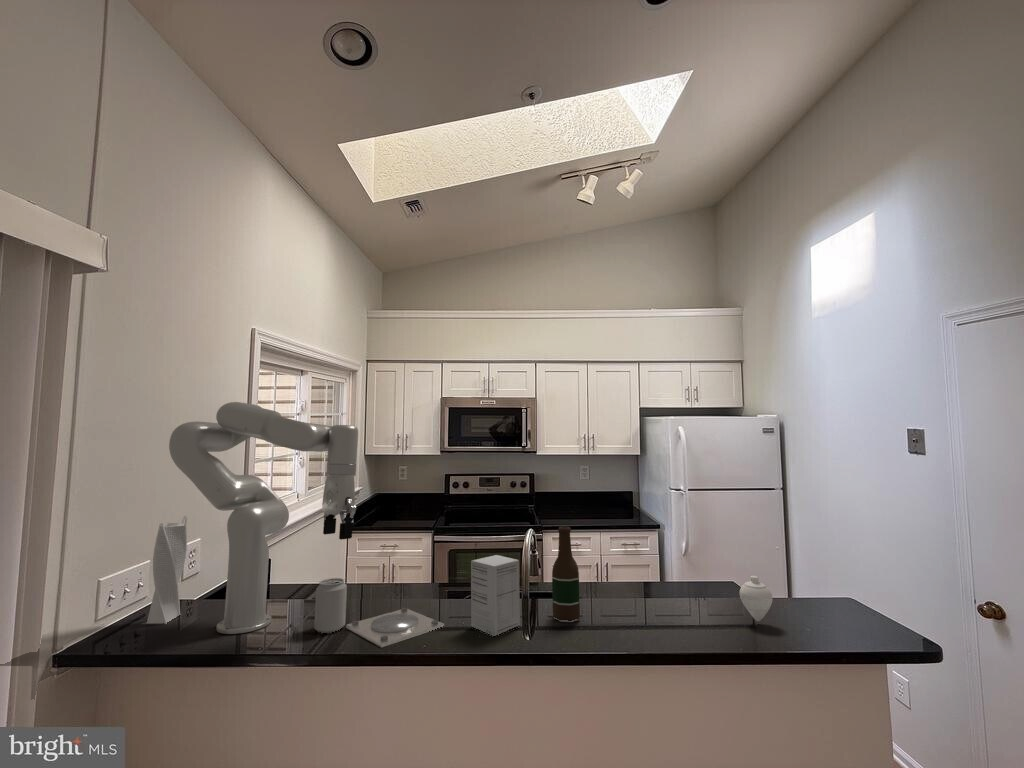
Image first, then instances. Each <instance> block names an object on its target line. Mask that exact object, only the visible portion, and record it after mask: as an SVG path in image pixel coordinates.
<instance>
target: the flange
mask: <svg viewBox="0 0 1024 768" xmlns="http://www.w3.org/2000/svg"><path fill="white" fill-rule="evenodd" d="M443 626H444V627H445V623H443V622H441V621H439V620H436V619H433V618H431V617H430V616H429V617H428V616H425V615H424V614H421V613H419V612H416V611H413V610H412V609H409V608H407V607H401V608H400V609H398V610H394V611H391V612H386V613H383V614H380V615H377V616H372V617H368V618H366V619H361V620H354V621H352V622H351V623H348V624H345V628H346V629H347V630H349V631H350V632H352V633H354V634H357V636H360V637H362V638H363V639H365V640H367V641H369V642H371V643H372V644H374V645H376V646H377V647H380V648H385V647H387V646H391V645H393V644H397V643H400V642H402V641H406V640H409V639H411V638H415V637H418V636H421V635H423V634H427V633H430V632H432V630H433V631H436V630H438V629H437V628H439V629H441V628H440V627H442V628H444V627H443ZM435 629H436V630H435ZM429 631H430V632H429Z"/></svg>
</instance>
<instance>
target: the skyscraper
mask: <svg viewBox="0 0 1024 768" xmlns="http://www.w3.org/2000/svg"><path fill="white" fill-rule="evenodd" d="M187 523H188V517H187V516H186V515H185V516H183V517H182V519H181V522H180V521H169V522H167V523H166V524H164V523H162V522H161V523H159V525H158V531H157V533H156V534H157V535H156V538H155V542H154V543H155V545H154V548H153V549H154V550H153V556H152V576H153V583H154V592H153V594H152V595H153V596H152V599H151V604H150V607H149V613H148V616H147V620H146V621H147V622H146V621H144V622H145V623H143V622H141V623H142V624H141V625H168V624H167V622H169V621H171V620H172V619H174V618H176V617H177V616H179V615H181V606H180V605H181V603H180V591H179V583H180V579H181V576H182V573H183V569H184V566H185V563H186V559H187V558H186V557H187V549H188V535H187V534H188V531H187V525H188V524H187ZM163 623H164V624H163Z"/></svg>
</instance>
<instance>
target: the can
mask: <svg viewBox="0 0 1024 768" xmlns="http://www.w3.org/2000/svg"><path fill="white" fill-rule="evenodd" d="M345 581H346V580H345V579H344V578H339V577H333V578H327V579H325V578H324V579H323V580H320V581H319V582H318V586H317V587H316V588H315V606H314V607H315V608H314V622H313V624H314V625H313V626H314V627H313V628H314V630H316V631H317V633H319V632H321V633H320V634H323V633H327V634H333V633H332V632H334V633H336V632H335V631H337V632H339V631H341V630H342V629H343V627H344V626H346V620H347V619H346V616H347V612H346V611H347V594H348V593H347V591H348V590H347V589H348V585H347V584H346V583H345ZM341 628H342V629H341ZM340 629H341V630H340ZM338 630H339V631H338Z"/></svg>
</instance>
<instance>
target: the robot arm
mask: <svg viewBox="0 0 1024 768" xmlns="http://www.w3.org/2000/svg"><path fill="white" fill-rule="evenodd" d="M215 415H216V418H215V419H216V421H217V422H210V421H189V422H188V421H187V422H185V423H181V424H179V425H177V427H176V428H175V429H173V431H172V433H171V434H170V437H169V443H168V449H169V450H168V451H169V454H170V457H171V459H172V461H173V463H174V464H175V466H176V467H177V468H178V469H179V470H180V471H181V472H182V473H183V474H184V475H185V476H186V477H187V478H188V479H189V480H190V482H192V484H193V485H194V486H195V487H196V488H197V489H198V491H200V493H201V494H202V495H203V496H204V497H205V498H206V500H208V502H209V503H210V504H211V505H212V506H213V507H214V508H215V509H216V510H219V511H223V512H224V511H225V512H226V511H232V512H231V513H230V515H229V517H228V519H227V523H226V524H227V525H226V527H227V528H226V529H227V537H228V561H227V562H228V564H227V579H226V592H225V604H224V616H223V617H224V618H223V620H222V621H219V622H218V623H217V624H216V629H215V630H216V632H217V633H220V634H223V635H238V634H245V633H250V632H254V631H259V630H260V629H264V628H265V627H267V626H268V625H270V624H271V622H272V615H270V614H268V613H266V607H267V606H266V605H267V591H268V575H269V558H270V549H269V545H268V541H267V538H266V537H267V536H268V535H272V534H275V533H278V532H279V531H281V530H283V529H284V528H285V527H286V526H287V524H288V522H289V518H290V512H289V508H288V506H287V504H286V503H285V502H284V501H283V500H282V499H281V498H280V497H279V496H278V494H277V493H276V492H274V490H273V489H272V488H271V487H270V486H269V485H268V484H267V483H266V482H265V481H264V480H263V479H261V478H260V477H258V476H256V475H253V474H235V473H234V472H232V471H231V470H230V469H229V468H228V467H227V466H226V465H225V463H223V461H221V459H218V458H217V457H216V456H214V455H212V454H211V453H219V452H225V451H228V450H231V449H232V448H235V447H236V446H238V445H240V444H241V443H243V442H245V441H246V440H248V439H250V438H254V439H258V440H262V441H266V442H267V443H270V444H272V445H275V446H277V447H278V446H279V447H282V448H286V449H290V450H293V451H298V452H315V453H317V452H318V453H320V452H321V453H322V452H327V460H326V475H325V476H326V478H325V483H324V487H323V495H322V503H321V504H322V505H321V511H322V512H323V513H324V514H323V527H322V528H323V530H322V531H323V532H322V533H323V535H332V534H333V535H334V534H335V533H336V530H337V528H336V527H337V518H336V516H338V515H339V517H340V520H341V523H339V536H338V539H339V540H340V541H341V540H349V539H352V538H353V525H354V521H355V520H354V518H355V516H356V511H357V506H356V504H355V501H356V500H355V496H356V493H355V492H356V491H355V490H356V486H355V485H356V483H355V482H356V481H355V477H356V476H357V457H358V446H359V445H358V443H359V428H358V427H357V426H356V425H350V424H334V425H326V424H320V423H313V422H304V421H301V420H296V419H292V418H287V417H284V416H282V415H281V413H280V412H278V411H277V410H272V409H268V408H265V407H264V408H263V407H261V406H260V405H257V404H254V403H253V404H252V403H246V402H239V401H231V402H227V403H225V404H223V405H222V406H220V408H218V410H217V412H216V414H215ZM210 452H211V453H210ZM269 623H270V624H269Z"/></svg>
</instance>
